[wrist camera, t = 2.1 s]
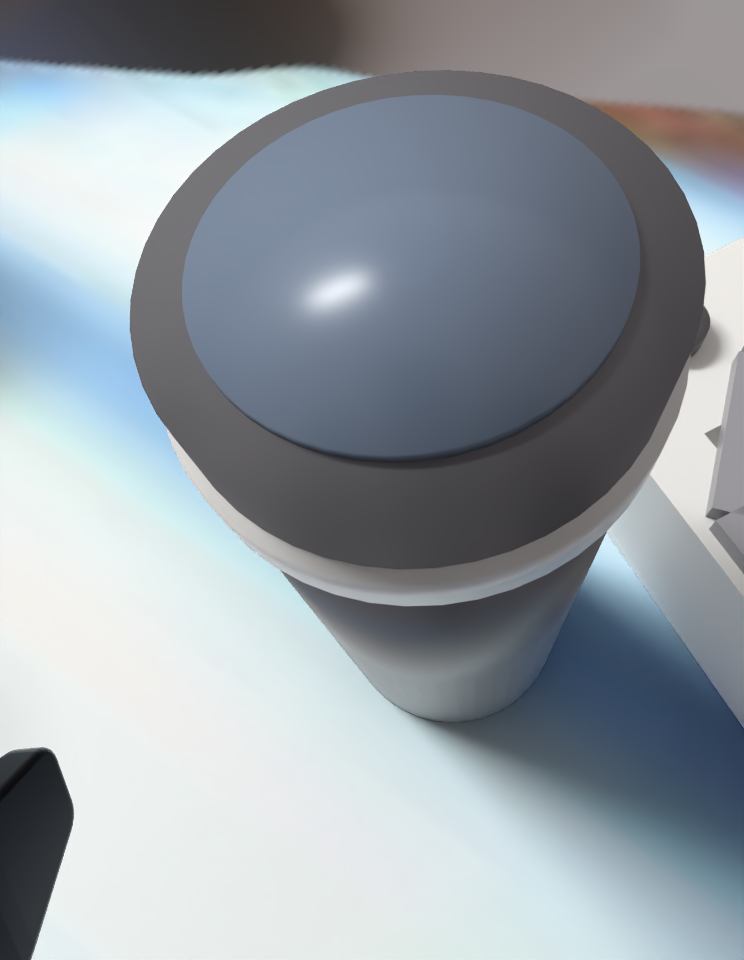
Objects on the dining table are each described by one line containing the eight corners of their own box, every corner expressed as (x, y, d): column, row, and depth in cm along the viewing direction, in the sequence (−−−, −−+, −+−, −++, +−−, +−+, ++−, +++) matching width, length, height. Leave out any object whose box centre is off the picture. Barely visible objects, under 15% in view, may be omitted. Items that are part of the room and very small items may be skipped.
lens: (603, 662, 19) (884, 334, 6) (402, 770, 18) (231, 670, 5) (489, 482, 21) (511, -18, 8) (310, 573, 21) (46, 190, 8)
